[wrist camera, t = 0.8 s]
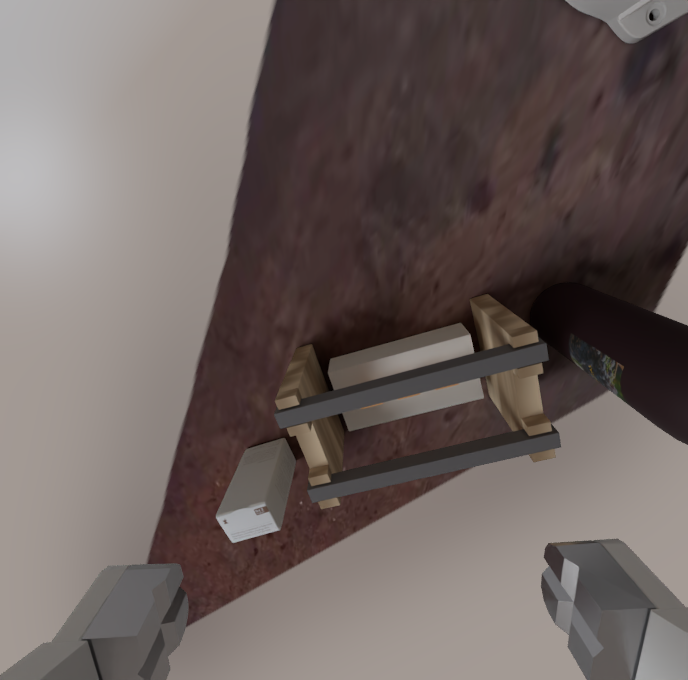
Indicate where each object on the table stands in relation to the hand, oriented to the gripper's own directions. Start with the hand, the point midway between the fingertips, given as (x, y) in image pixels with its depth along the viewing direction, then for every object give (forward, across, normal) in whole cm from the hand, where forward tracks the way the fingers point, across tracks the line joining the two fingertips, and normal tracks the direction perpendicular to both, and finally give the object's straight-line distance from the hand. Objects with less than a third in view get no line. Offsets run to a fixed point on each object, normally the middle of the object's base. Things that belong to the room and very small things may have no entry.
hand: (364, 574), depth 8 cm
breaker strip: (+36, -7, +9) cm, 38 cm away
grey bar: (+26, -8, +14) cm, 30 cm away
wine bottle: (+35, -25, +2) cm, 43 cm away
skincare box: (+39, +10, +21) cm, 45 cm away
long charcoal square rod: (+25, -5, +6) cm, 26 cm away
